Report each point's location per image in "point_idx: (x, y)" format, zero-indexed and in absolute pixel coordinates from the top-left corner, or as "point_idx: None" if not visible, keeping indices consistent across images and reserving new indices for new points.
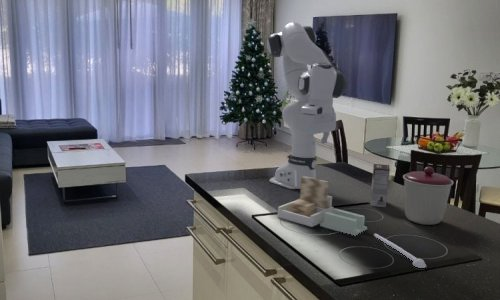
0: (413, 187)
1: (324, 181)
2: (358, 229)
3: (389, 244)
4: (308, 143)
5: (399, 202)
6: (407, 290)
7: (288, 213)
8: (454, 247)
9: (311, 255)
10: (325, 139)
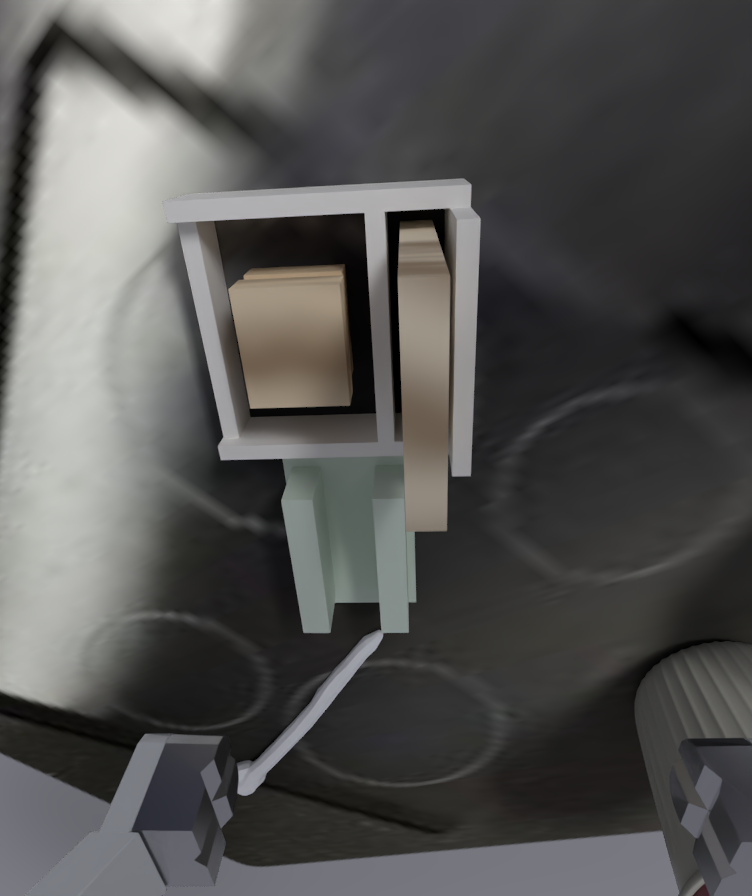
0: (690, 845)
1: (419, 508)
2: (357, 592)
3: (316, 697)
4: (128, 778)
5: None
6: (99, 784)
7: (194, 289)
8: (474, 788)
9: (8, 576)
10: (707, 889)
